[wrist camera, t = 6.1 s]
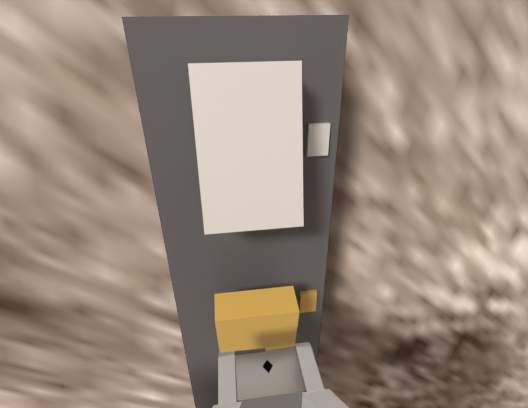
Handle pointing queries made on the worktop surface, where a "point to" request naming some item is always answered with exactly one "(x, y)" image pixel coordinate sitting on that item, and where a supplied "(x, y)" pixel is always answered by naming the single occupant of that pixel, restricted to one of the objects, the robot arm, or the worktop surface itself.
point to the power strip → (187, 177)
